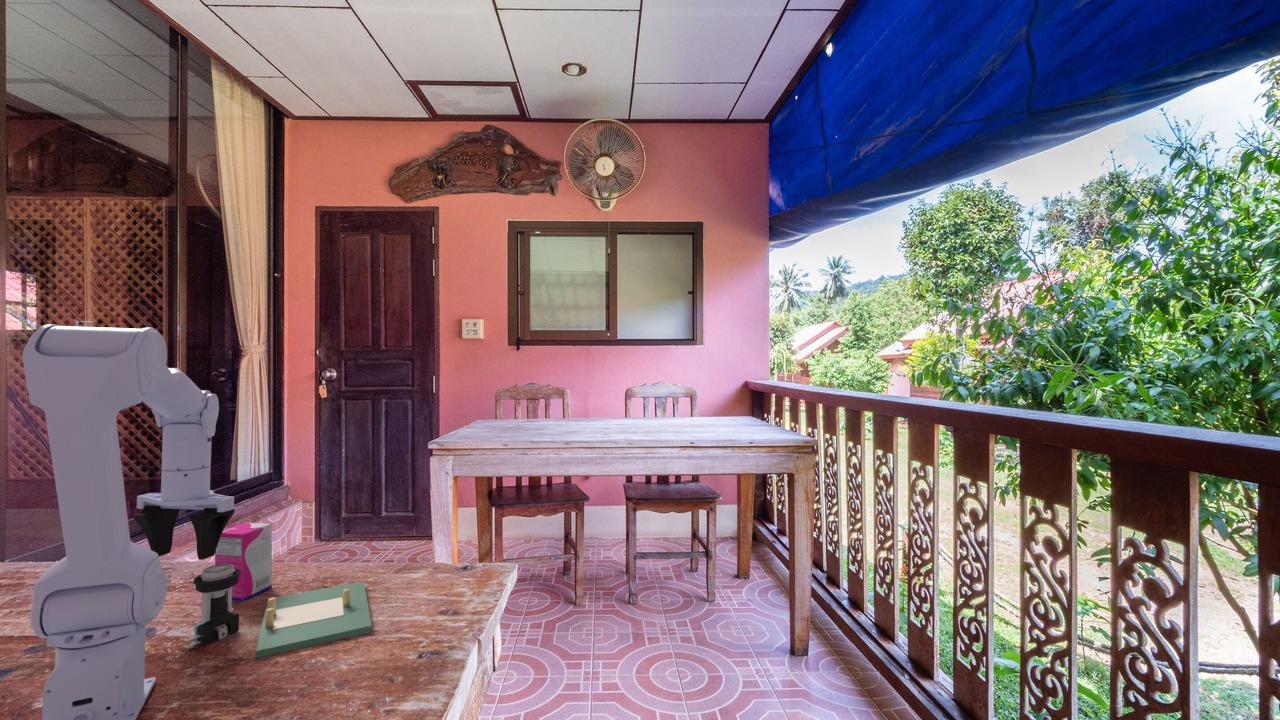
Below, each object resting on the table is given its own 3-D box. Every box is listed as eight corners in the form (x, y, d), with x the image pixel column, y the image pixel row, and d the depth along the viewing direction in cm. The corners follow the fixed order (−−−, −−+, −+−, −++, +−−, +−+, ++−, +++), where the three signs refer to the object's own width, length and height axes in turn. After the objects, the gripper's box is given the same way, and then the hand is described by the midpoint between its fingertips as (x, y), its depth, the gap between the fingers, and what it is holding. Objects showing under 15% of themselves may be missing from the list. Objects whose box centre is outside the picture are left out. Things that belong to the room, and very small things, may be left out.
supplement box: (243, 585, 93) (245, 521, 93) (272, 588, 92) (274, 523, 92) (212, 599, 87) (214, 531, 87) (242, 602, 86) (244, 533, 86)
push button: (197, 655, 71) (199, 582, 71) (171, 647, 72) (173, 576, 72) (248, 631, 77) (249, 564, 77) (223, 625, 79) (225, 559, 79)
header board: (371, 632, 77) (372, 608, 77) (255, 658, 70) (256, 632, 70) (363, 587, 93) (364, 567, 93) (268, 604, 85) (268, 583, 85)
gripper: (251, 464, 83) (249, 549, 83) (170, 461, 84) (167, 545, 84) (211, 473, 76) (208, 566, 76) (123, 469, 77) (120, 561, 77)
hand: (184, 556), depth 80 cm, fingers open, 7 cm apart
